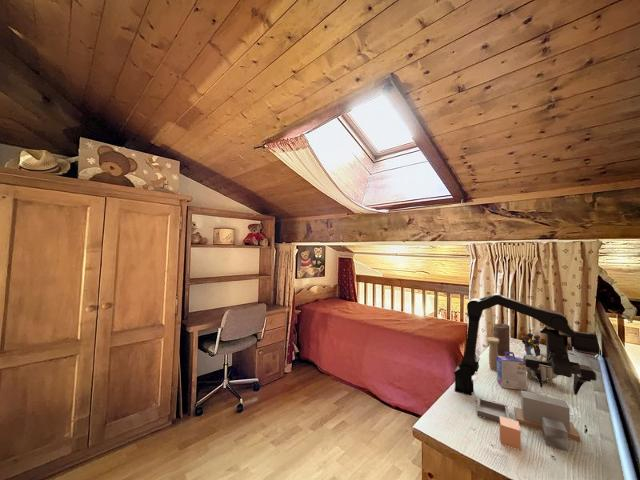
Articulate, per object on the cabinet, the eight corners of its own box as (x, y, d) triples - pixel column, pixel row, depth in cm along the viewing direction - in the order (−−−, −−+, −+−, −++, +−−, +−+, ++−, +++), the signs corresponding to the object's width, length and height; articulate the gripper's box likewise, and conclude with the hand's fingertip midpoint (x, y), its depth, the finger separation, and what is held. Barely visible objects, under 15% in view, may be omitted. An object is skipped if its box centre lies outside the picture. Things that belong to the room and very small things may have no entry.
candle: (512, 366, 133) (511, 327, 133) (495, 363, 135) (495, 325, 136) (507, 360, 140) (506, 323, 141) (491, 357, 143) (491, 321, 143)
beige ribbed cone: (519, 370, 128) (519, 348, 129) (566, 382, 117) (565, 358, 117) (516, 378, 120) (516, 354, 121) (566, 392, 109) (566, 366, 109)
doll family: (545, 367, 131) (544, 341, 132) (522, 363, 137) (522, 337, 137) (540, 352, 150) (539, 329, 150) (520, 349, 155) (520, 327, 156)
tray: (477, 415, 94) (477, 410, 94) (477, 402, 102) (477, 397, 102) (509, 425, 88) (509, 419, 89) (507, 410, 97) (507, 405, 97)
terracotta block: (500, 444, 80) (500, 424, 80) (499, 434, 85) (499, 415, 85) (520, 450, 78) (520, 430, 78) (518, 440, 82) (518, 421, 82)
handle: (486, 369, 129) (486, 339, 129) (489, 365, 134) (488, 336, 134) (498, 372, 126) (497, 342, 126) (500, 368, 130) (499, 338, 131)
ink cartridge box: (520, 384, 116) (520, 351, 116) (527, 390, 110) (527, 356, 110) (496, 381, 117) (495, 349, 118) (502, 388, 112) (501, 354, 112)
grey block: (546, 445, 80) (545, 425, 80) (542, 435, 84) (542, 416, 84) (567, 452, 77) (567, 431, 77) (563, 441, 82) (562, 422, 82)
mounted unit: (516, 423, 90) (516, 397, 90) (514, 410, 96) (513, 386, 97) (580, 441, 81) (579, 413, 81) (572, 426, 88) (571, 400, 88)
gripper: (527, 349, 91) (528, 393, 91) (602, 361, 81) (603, 411, 81) (523, 339, 100) (523, 379, 100) (589, 349, 91) (590, 394, 90)
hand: (557, 390), depth 92 cm, fingers open, 9 cm apart
